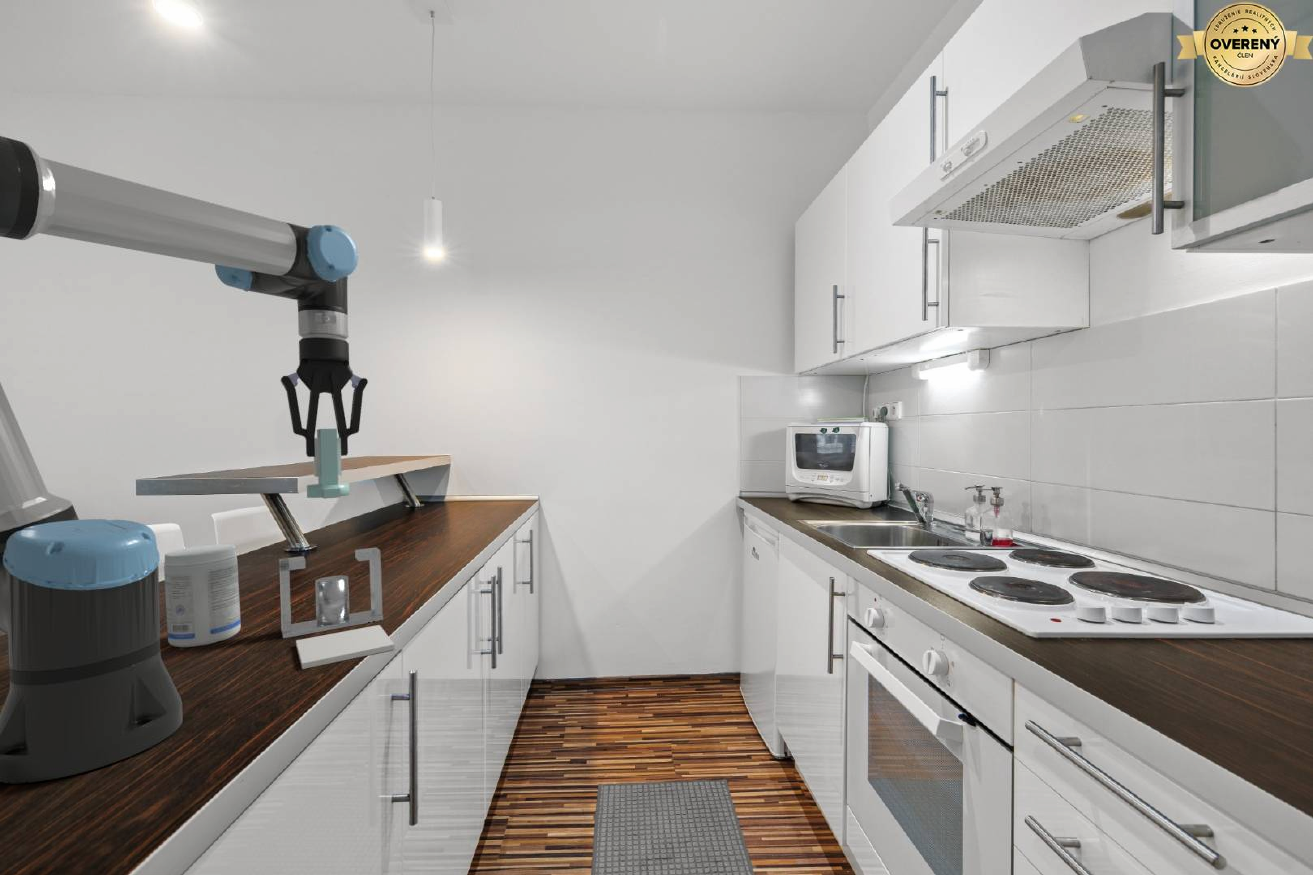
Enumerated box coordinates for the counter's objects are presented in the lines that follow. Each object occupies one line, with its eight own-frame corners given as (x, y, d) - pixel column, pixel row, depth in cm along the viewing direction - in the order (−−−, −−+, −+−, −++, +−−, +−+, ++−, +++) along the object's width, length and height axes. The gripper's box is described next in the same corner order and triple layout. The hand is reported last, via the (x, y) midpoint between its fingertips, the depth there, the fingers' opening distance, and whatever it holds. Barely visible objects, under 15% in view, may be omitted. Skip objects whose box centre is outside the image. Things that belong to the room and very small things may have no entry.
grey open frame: (283, 638, 97) (280, 563, 97) (281, 630, 101) (279, 558, 101) (383, 619, 106) (380, 550, 105) (377, 613, 110) (375, 546, 110)
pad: (302, 669, 83) (302, 663, 83) (296, 645, 93) (296, 640, 93) (394, 649, 90) (394, 644, 90) (379, 629, 100) (379, 624, 100)
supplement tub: (238, 625, 105) (235, 541, 105) (243, 638, 97) (240, 548, 97) (166, 638, 99) (163, 549, 99) (166, 654, 91) (163, 557, 91)
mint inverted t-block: (304, 495, 106) (302, 430, 106) (344, 492, 109) (343, 429, 109) (310, 499, 97) (308, 428, 97) (353, 496, 100) (352, 428, 100)
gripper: (271, 332, 96) (275, 479, 96) (377, 339, 104) (380, 473, 104) (269, 339, 102) (273, 477, 102) (369, 345, 111) (373, 472, 111)
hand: (327, 475), depth 103 cm, fingers closed on mint inverted t-block, 2 cm apart
